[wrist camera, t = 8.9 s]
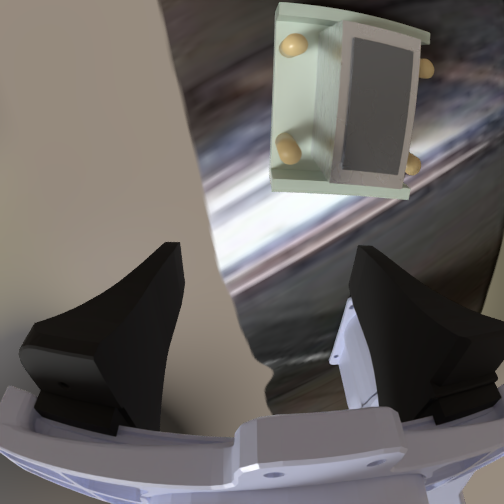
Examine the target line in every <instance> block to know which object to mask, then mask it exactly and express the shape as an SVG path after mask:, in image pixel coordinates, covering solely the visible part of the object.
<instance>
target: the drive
mask: <svg viewBox="0 0 504 504" xmlns="http://www.w3.org/2000/svg"><path fill="white" fill-rule="evenodd" d="M420 52H421V40H420V39H417V38H414V37H411V36H408V35H404V34H401V33H397V32H394V31H390V30H386V29H382V28H378V27H374V26H370V25H365V24H361V23H356V22H351V21H345V20H342V21H340V22H338V23H336V24H334V25H333V26H331V27H329V28H327V29H325V30H323V31H322V32H320V33H318V56H317V74H316V90H315V105H314V119H313V131H312V143H311V154H310V155H311V157H312V158H313V160H314V161H315V163H316V164H317V165H318V167H319V168H320V170H321V171H322V173H323V174H324V176H325V177H326V179H327V180H328V182H329V183H335V184H348V185H361V186H372V187H382V188H392V189H402V185H403V180H404V175H405V170H406V165H407V160H408V154H409V148H410V142H411V136H412V130H413V123H414V115H415V108H416V99H417V90H418V80H419V67H420Z"/></svg>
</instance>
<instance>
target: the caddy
mask: <svg viewBox="0 0 504 504" xmlns="http://www.w3.org/2000/svg"><path fill="white" fill-rule="evenodd" d="M342 20H345V21H351V22H356V23H361V24H365V25H370V26H374V27H378V28H382V29H386V30H390V31H394V32H397V33H401V34H404V35H408V36H411V37H414V38H417V39H420V40H421V45H428V44H430V33H429V32H426V31H423V30H420V29H417V28H414V27H411V26H408V25H404V24H401V23H398V22H394V21H390V20H387V19H383V18H379V17H375V16H370V15H366V14H361V13H357V12H352V11H347V10H341V9H335V8H329V7H322V6H315V5H307V4H297V3H286V2H279V4H278V7H277V9H276V11H275V33H274V65H273V93H272V119H271V143H270V166H269V178H270V184H271V189H272V192H297V193H319V194H337V195H353V196H367V197H380V198H392V199H403V200H408V198H409V194H410V190H411V189H410V188H409V187H408V186H407V185H406V184H405V183H404V182H403V185H402V189H392V188H382V187H372V186H361V185H348V184H335V183H329V182H328V180H327V179H326V177H325V176H324V174H323V173H322V171H321V170H320V168H319V167H318V165H317V164H316V163H315V161H314V160H313V158H312V157H311V155H310V154H311V143H312V131H313V119H314V105H315V90H316V74H317V56H318V33H320V32H322V31H323V30H325V29H327V28H329V27H331V26H333V25H334V24H336V23H338V22H340V21H342ZM433 74H434V67H433V64H432V63H431V62H430V61H429V60H428V59H420V67H419V78H426V79H428V78H431V77H432V76H433ZM420 168H421V162H420V160H419V158H417V157H416V156H414V155H413V154H411V153H409V154H408V160H407V165H406V170H405V172H406V173H407V174H408V175H415V174H417V173H418V172H419V171H420Z"/></svg>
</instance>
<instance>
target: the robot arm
mask: <svg viewBox="0 0 504 504" xmlns="http://www.w3.org/2000/svg"><path fill="white" fill-rule="evenodd" d="M184 286H185V279H184V272H183V263H182V255H181V247H180V242H165V243H164V244H162V245H161V246H160V247H159V248H158V249H157V250H156V251H155V252H154V253H152V254H151V255H150V256H149V257H148V258H147V259H146V260H145V261H144V262H143V263H141V264H140V265H139V266H138V267H137V268H135V269H134V270H133V271H132V272H131V273H129V274H128V275H127V276H126V277H124V278H123V279H122V280H121V281H119V282H118V283H116V284H115V285H114V286H112V287H111V288H109V289H108V290H106V291H105V292H103V293H101V294H100V295H98V296H96V297H94V298H93V299H91V300H89V301H87V302H86V303H84V304H82V305H80V306H78V307H76V308H74V309H72V310H69V311H67V312H65V313H62V314H60V315H57V316H55V317H52V318H49V319H46V320H43V321H40V322H37V323H35V324H34V325H33V327H32V328H31V330H30V332H29V334H28V335H27V337H26V339H25V340H24V342H23V344H22V346H21V348H20V349H19V357H20V361H21V363H22V365H23V367H24V368H25V370H26V371H27V372H28V374H29V375H30V377H31V378H32V379H33V381H34V382H35V383H36V385H37V386H38V387H39V388H40V389H41V391H40V394H39V396H38V397H37V396H35V395H34V394H32V393H30V392H28V391H24V390H21V389H19V388H16V387H13V386H8V388H7V390H6V392H5V394H4V396H3V398H2V401H1V403H0V453H2V454H3V455H5V456H6V457H7V458H8V459H10V460H11V461H13V462H14V463H16V464H17V465H18V466H20V467H21V468H23V469H24V470H26V471H28V472H31V473H33V474H35V475H37V476H40V477H42V478H44V479H47V480H49V481H51V482H54V483H56V484H59V485H61V486H64V487H66V488H69V489H72V490H74V491H77V492H79V493H82V494H85V495H88V496H91V497H93V498H97V499H99V500H103V501H106V502H109V503H112V504H466V503H465V499H464V496H463V492H462V490H463V488H464V487H465V485H466V484H467V482H468V481H469V480H470V478H471V477H472V475H473V474H474V472H475V471H476V470H478V469H480V468H482V467H484V466H486V465H488V464H490V463H492V462H493V461H495V460H497V459H499V458H501V457H503V456H504V384H503V385H501V386H500V387H498V388H497V386H496V385H495V382H496V381H497V380H498V377H497V374H496V373H495V370H497V368H498V367H499V366H500V364H501V363H502V362H503V360H504V321H501V320H498V319H495V318H491V317H488V316H485V315H482V314H480V313H477V312H475V311H472V310H470V309H467V308H465V307H463V306H461V305H459V304H457V303H455V302H453V301H451V300H449V299H447V298H445V297H443V296H442V295H440V294H438V293H437V292H435V291H433V290H432V289H430V288H429V287H427V286H426V285H424V284H423V283H421V282H420V281H418V280H417V279H416V278H414V277H413V276H411V275H410V274H409V273H407V272H406V271H405V270H403V269H402V268H401V267H400V266H398V265H397V264H396V263H394V262H393V261H392V260H391V259H389V258H388V257H387V256H385V255H384V254H383V253H382V252H380V251H379V250H377V249H376V248H374V247H373V246H363V245H358V248H357V252H356V257H355V261H354V265H353V269H352V273H351V277H350V281H349V289H350V294H351V297H350V298H349V299H348V300H347V303H346V307H345V310H344V314H343V317H342V321H341V324H340V327H339V331H338V334H337V337H336V340H335V344H334V347H333V350H332V353H331V356H330V359H329V362H330V364H333V365H334V364H339V368H340V372H341V377H342V381H343V385H344V390H345V394H346V399H347V404H348V407H349V410H340V411H330V412H317V413H302V414H279V415H272V416H264V417H258V418H255V419H253V420H250V421H248V422H245V423H243V424H242V425H241V426H240V427H239V428H238V430H237V431H236V432H235V437H233V438H231V437H211V436H197V435H184V434H174V433H166V432H160V414H161V402H162V392H163V382H164V375H165V368H166V361H167V355H168V351H169V346H170V343H171V339H172V336H173V332H174V329H175V326H176V322H177V319H178V315H179V312H180V308H181V305H182V299H183V293H184ZM351 305H353V306H351ZM350 306H351V307H350Z"/></svg>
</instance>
